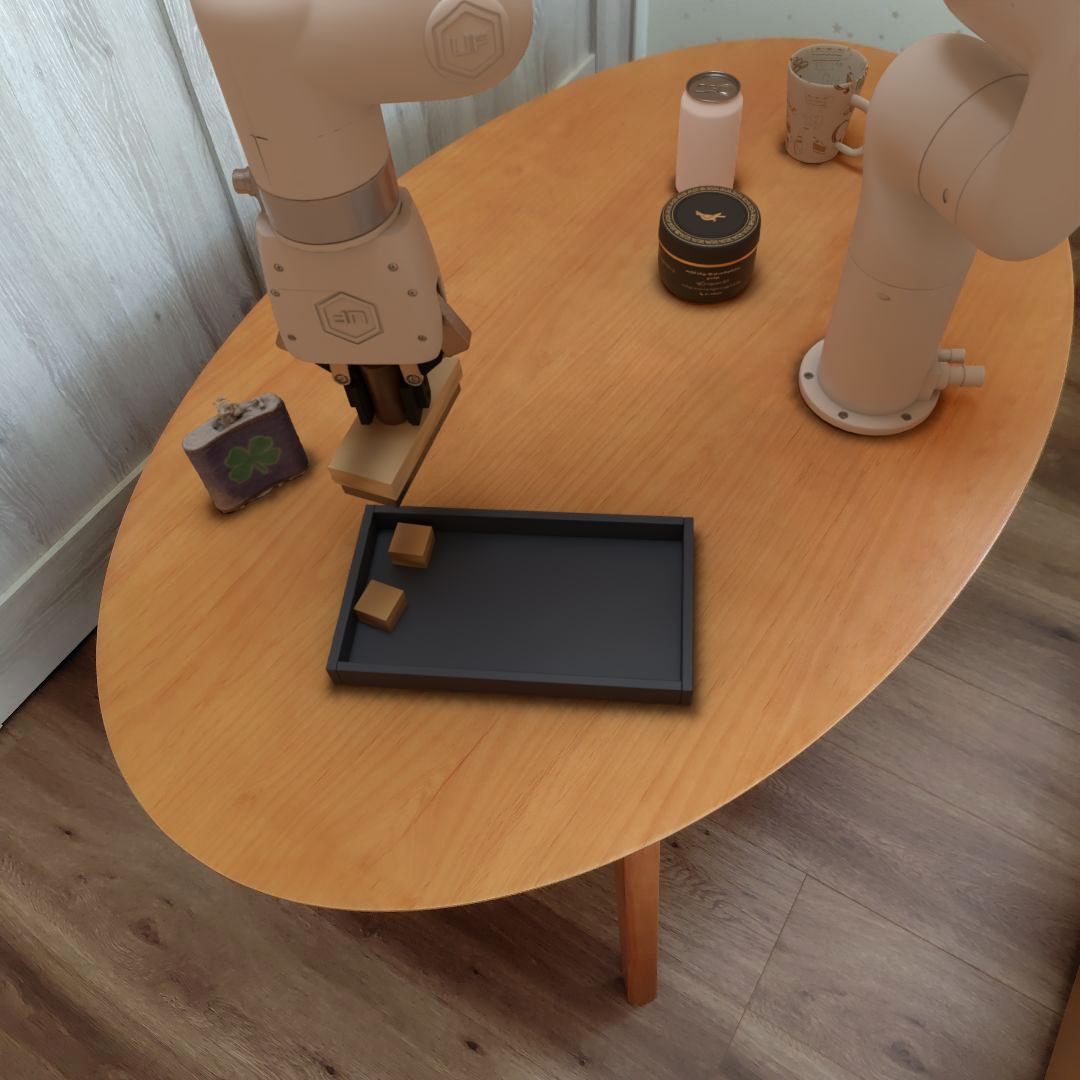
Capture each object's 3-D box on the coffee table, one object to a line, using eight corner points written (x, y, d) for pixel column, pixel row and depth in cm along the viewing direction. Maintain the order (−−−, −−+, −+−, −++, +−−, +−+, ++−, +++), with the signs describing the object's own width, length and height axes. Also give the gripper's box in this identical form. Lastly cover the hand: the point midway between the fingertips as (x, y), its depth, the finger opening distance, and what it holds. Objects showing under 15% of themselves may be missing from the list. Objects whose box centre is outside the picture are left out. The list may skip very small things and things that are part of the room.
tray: (690, 539, 80) (693, 516, 77) (689, 709, 71) (692, 691, 68) (373, 526, 83) (365, 504, 80) (335, 688, 74) (325, 669, 71)
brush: (466, 388, 73) (446, 298, 65) (401, 512, 67) (371, 430, 59) (408, 374, 74) (382, 284, 66) (339, 494, 69) (301, 412, 60)
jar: (764, 301, 95) (775, 239, 89) (668, 316, 95) (672, 255, 89) (738, 239, 101) (746, 176, 95) (646, 253, 101) (649, 191, 94)
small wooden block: (408, 603, 77) (403, 590, 75) (390, 633, 76) (385, 620, 74) (376, 591, 78) (371, 578, 76) (358, 620, 76) (353, 608, 75)
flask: (223, 518, 84) (178, 440, 75) (210, 498, 86) (164, 419, 77) (315, 468, 87) (281, 387, 78) (300, 449, 88) (266, 368, 80)
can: (730, 207, 104) (742, 105, 94) (671, 203, 105) (677, 101, 95) (735, 172, 108) (747, 69, 98) (678, 168, 109) (685, 66, 99)
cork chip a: (435, 539, 81) (432, 526, 79) (426, 569, 79) (422, 555, 77) (402, 535, 81) (397, 522, 79) (392, 564, 79) (387, 551, 78)
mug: (806, 118, 112) (821, 35, 104) (894, 161, 107) (918, 76, 99) (760, 149, 110) (772, 66, 101) (849, 195, 104) (869, 110, 96)
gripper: (169, 232, 51) (272, 449, 66) (465, 230, 49) (501, 453, 65) (207, 149, 55) (295, 371, 70) (481, 145, 54) (511, 373, 69)
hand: (393, 408), depth 67 cm, fingers closed on brush, 2 cm apart
